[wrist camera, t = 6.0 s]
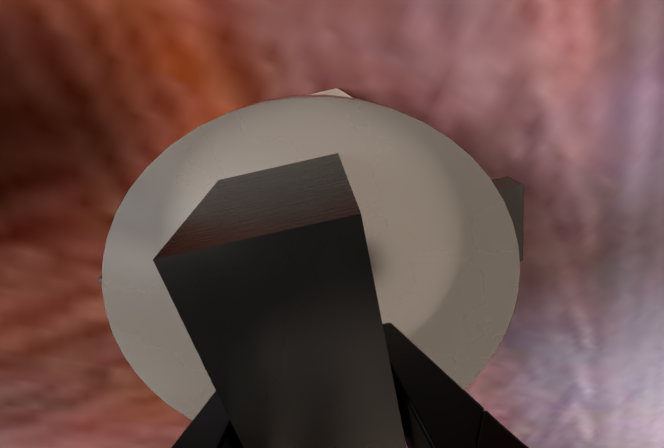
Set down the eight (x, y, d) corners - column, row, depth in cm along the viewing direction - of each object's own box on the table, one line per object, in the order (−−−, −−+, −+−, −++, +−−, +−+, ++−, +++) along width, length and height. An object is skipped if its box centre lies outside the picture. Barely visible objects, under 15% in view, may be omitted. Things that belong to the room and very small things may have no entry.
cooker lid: (505, 387, 14) (605, 548, 9) (203, 449, 14) (152, 636, 9) (499, 45, 9) (710, 16, 4) (38, 152, 9) (-238, 235, 4)
